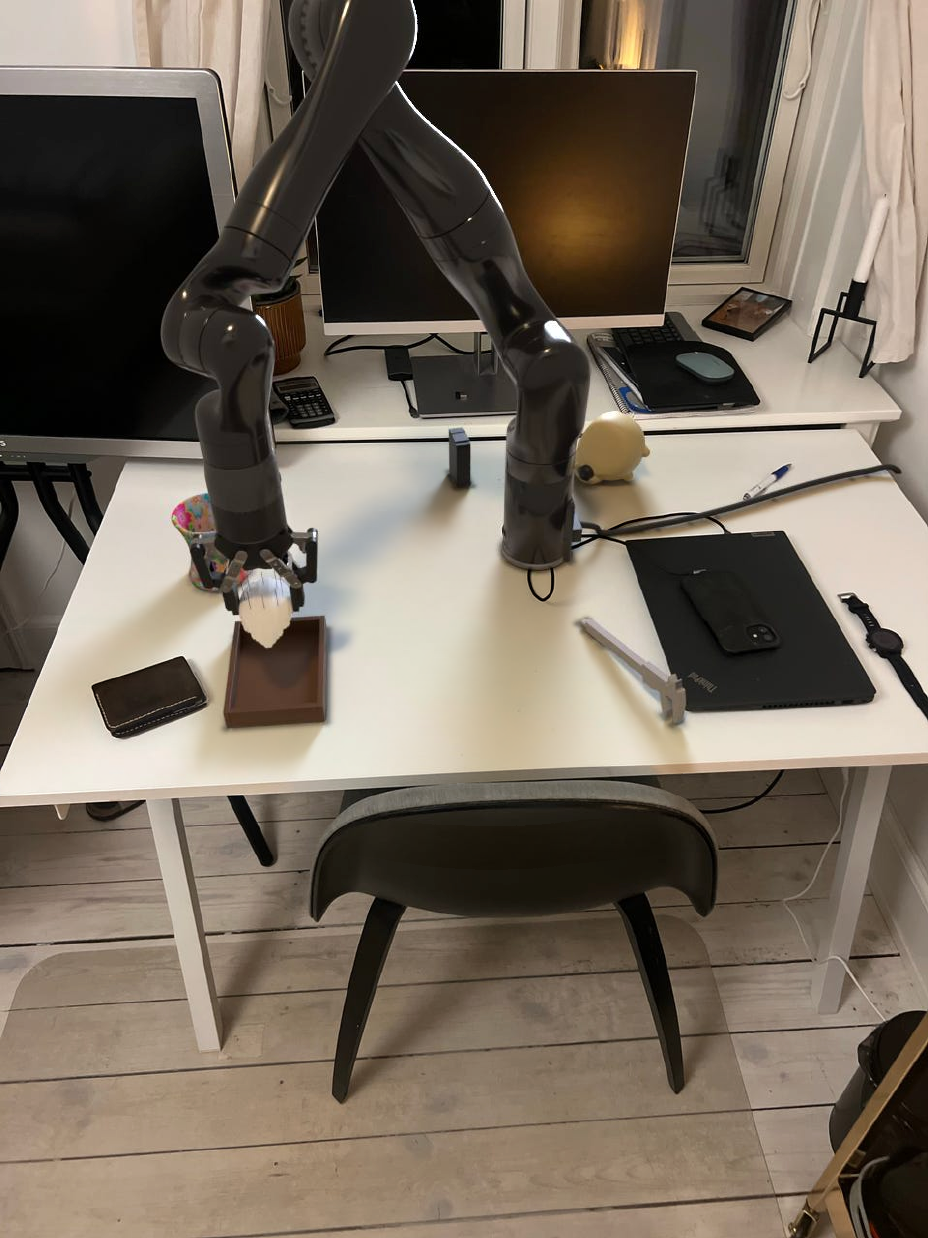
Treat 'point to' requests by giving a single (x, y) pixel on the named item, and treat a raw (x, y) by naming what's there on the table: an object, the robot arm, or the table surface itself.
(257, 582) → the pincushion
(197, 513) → the mug
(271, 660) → the tray
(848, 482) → the table surface
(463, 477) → the ink cartridge
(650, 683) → the caliper
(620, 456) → the toy pig
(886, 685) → the table surface
